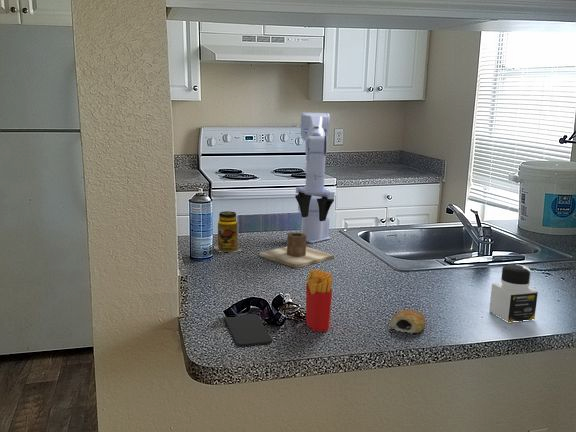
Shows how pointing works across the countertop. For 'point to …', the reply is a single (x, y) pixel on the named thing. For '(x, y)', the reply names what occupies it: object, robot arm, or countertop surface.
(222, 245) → the condiment
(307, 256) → the post board
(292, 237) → the collar
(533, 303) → the medicine bottle
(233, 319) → the phone
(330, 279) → the french fries
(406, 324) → the pastry
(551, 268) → the countertop surface
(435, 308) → the countertop surface
